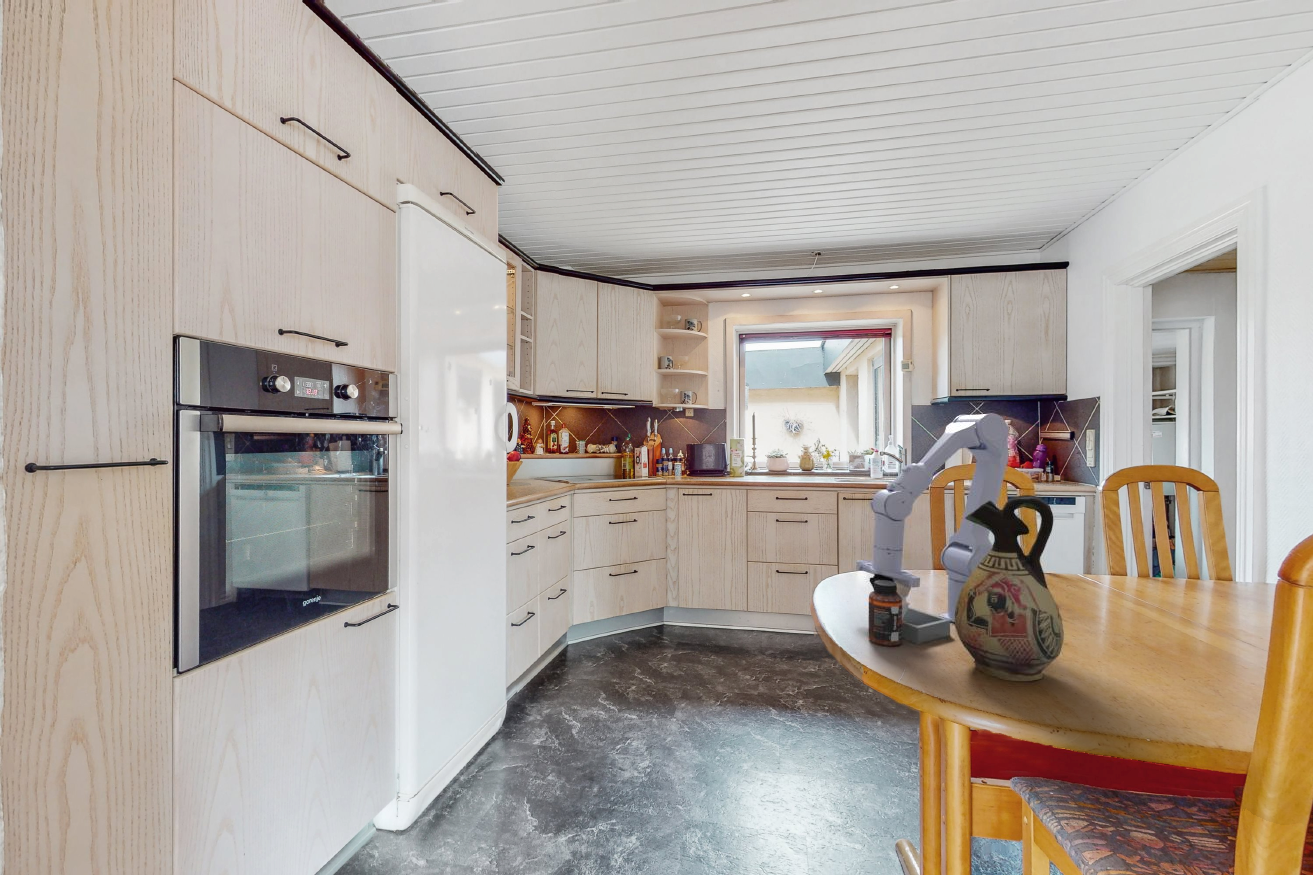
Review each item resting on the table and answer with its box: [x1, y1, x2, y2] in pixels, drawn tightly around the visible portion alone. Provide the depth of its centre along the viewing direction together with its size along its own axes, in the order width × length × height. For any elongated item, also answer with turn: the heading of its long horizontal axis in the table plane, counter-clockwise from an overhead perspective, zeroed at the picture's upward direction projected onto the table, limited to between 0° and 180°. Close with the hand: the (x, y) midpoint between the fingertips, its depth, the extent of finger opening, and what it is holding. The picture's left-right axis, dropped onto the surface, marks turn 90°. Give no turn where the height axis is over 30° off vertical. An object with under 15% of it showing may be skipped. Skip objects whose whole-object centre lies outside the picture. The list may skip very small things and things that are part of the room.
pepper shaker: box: [894, 580, 912, 621], centre depth 113 cm, size 4×4×10 cm
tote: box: [902, 606, 951, 645], centre depth 111 cm, size 10×11×3 cm
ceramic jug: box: [954, 494, 1065, 682], centre depth 92 cm, size 17×15×30 cm
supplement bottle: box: [867, 580, 903, 647], centre depth 106 cm, size 6×6×11 cm
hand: (883, 612), depth 116 cm, fingers closed, pressing on pepper shaker
